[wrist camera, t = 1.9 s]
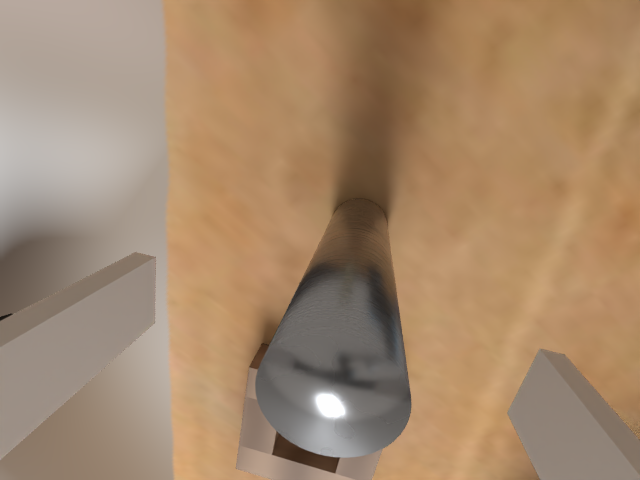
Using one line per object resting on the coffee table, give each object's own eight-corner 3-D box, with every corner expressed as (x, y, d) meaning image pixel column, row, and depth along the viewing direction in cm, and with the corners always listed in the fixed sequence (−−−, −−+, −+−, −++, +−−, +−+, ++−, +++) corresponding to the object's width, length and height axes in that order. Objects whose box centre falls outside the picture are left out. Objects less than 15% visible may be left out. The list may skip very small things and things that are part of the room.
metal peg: (393, 205, 22) (432, 356, 7) (379, 257, 24) (388, 474, 9) (337, 193, 23) (264, 314, 8) (326, 245, 24) (247, 433, 9)
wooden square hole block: (394, 378, 27) (397, 407, 24) (363, 472, 31) (362, 507, 28) (261, 343, 28) (249, 367, 25) (248, 438, 32) (235, 468, 29)
